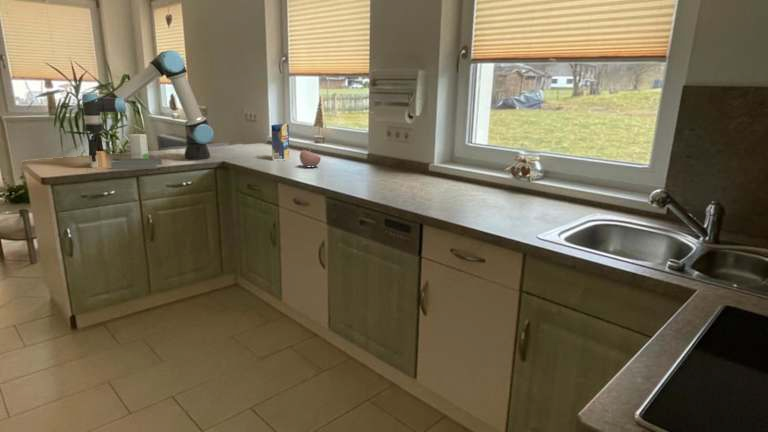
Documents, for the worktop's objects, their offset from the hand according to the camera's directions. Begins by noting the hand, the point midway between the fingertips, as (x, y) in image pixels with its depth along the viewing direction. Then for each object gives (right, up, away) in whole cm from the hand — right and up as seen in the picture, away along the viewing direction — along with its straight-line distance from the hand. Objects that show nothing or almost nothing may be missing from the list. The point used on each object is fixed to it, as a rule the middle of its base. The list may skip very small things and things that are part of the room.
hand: (98, 166), depth 260 cm
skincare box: (+12, +5, +22) cm, 25 cm away
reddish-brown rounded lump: (+112, +1, +21) cm, 114 cm away
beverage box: (+90, +8, +44) cm, 100 cm away
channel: (+19, 0, +5) cm, 20 cm away
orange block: (0, 0, 0) cm, 0 cm away
